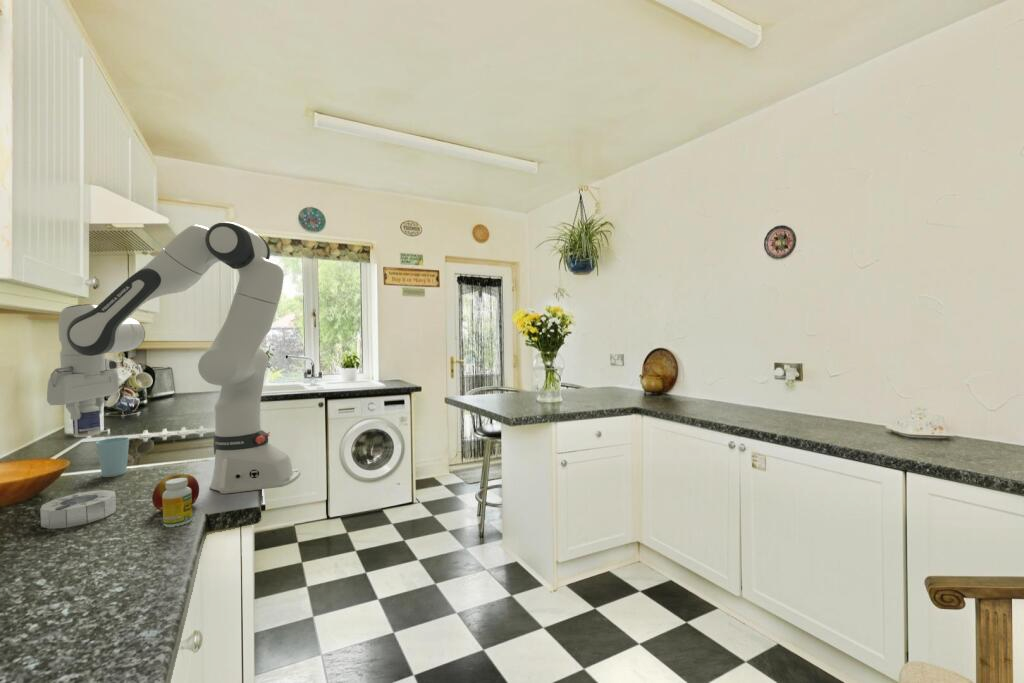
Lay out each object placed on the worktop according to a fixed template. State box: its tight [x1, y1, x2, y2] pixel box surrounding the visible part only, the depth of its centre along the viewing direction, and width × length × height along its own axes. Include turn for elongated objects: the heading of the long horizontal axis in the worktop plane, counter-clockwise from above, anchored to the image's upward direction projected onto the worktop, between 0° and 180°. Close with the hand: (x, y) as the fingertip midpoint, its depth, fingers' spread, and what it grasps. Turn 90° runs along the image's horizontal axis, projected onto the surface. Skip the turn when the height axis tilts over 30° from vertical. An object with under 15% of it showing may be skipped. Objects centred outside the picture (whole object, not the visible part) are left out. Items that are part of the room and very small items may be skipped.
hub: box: [39, 489, 117, 530], centre depth 107 cm, size 12×12×4 cm
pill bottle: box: [72, 399, 101, 438], centre depth 124 cm, size 5×5×10 cm
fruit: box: [151, 473, 200, 512], centre depth 111 cm, size 10×9×8 cm
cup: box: [95, 436, 130, 478], centre depth 140 cm, size 8×8×10 cm
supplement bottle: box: [162, 478, 194, 528], centre depth 103 cm, size 5×5×10 cm
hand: (86, 416), depth 124 cm, fingers closed on pill bottle, 5 cm apart
